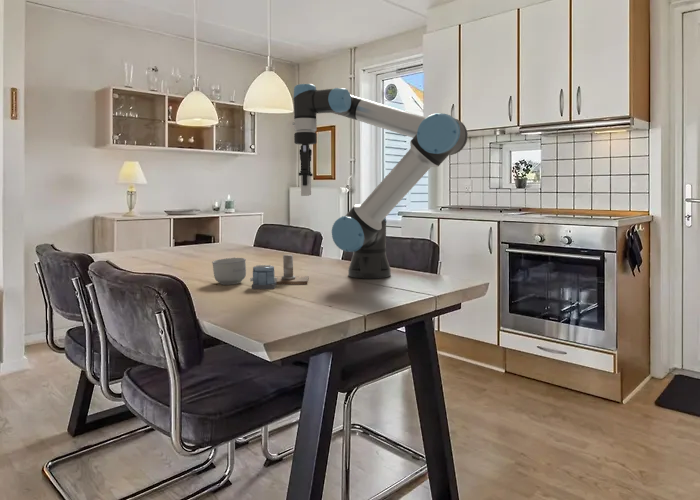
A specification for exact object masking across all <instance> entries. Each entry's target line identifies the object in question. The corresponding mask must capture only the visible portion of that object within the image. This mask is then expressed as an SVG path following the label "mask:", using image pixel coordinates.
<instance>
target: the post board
mask: <svg viewBox="0 0 700 500" xmlns="http://www.w3.org/2000/svg"><path fill="white" fill-rule="evenodd" d="M282 261H283V275H282V276H275V277H277V281H276V284H277V285H276V286H278V285H308V283H309V276H308V275H305V276H303V275H301V276H300V275H298V276H297V275H294V255H293V254H283V255H282Z"/></svg>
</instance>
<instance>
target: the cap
mask: <svg viewBox="0 0 700 500" xmlns="http://www.w3.org/2000/svg"><path fill="white" fill-rule="evenodd" d="M275 274H276V273H275V266H274V265H271V264H257V265H255V266H253V267H252V277H250V279H249V280H250V282H252V284H255V285H270V284H274V283H275V281H277V277H276V276H275Z"/></svg>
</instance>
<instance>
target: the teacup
mask: <svg viewBox="0 0 700 500" xmlns="http://www.w3.org/2000/svg"><path fill="white" fill-rule="evenodd" d="M246 263H247V262H246V258H244V257H229V258H228V257H227V258H221V259H216V260H213V261H212V262H211V264H212V270H213V277H214V279H215V281H216V282H217V283H219V284H220V285H222V286H223V285H224V286H226V285H227V286H230V285H236V284H240V283H242V282H243V280H244V279H245V278H246V275H247V267H246V266H247V265H246Z"/></svg>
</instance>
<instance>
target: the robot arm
mask: <svg viewBox="0 0 700 500" xmlns="http://www.w3.org/2000/svg"><path fill="white" fill-rule="evenodd" d="M292 100H293V121H292V126H293V127H294V128H293V129H294V131H295V132H294V137H293V139H294V144H295V145H300V149H299V160H300V170H299V172H298V176H300V196H301V197H304V196H306V197H309V196H311V195H312V177H313V175H314V174H313V172H312V170H311V162H312V155H313V153H312V152H313V151H312V149H311V147H310V145H315V144H317V143H318V142H317V139H318V137H317V133H316V132H317V130H318V129H317V127H318V126H317V119H318V118H317V114H333V115H334V114H335V115H338V116H342V117H345V118H348V119H352V120H355V121H358V122H361V123H364V124H369V125H371V126H374V127H377V128H381V129H383V130H387V131H389V132H393V133H396V134H400V135H403V136H406V137H410V138H411V139H410V142H409V143H410V148H409V150H408V151H407V152H406V153H405V154H404V156H402V157H401V159H399V161H398V162H397V163H396V165H394V167H393V168H392V169H391V170H390V171H389V172H388V173H387V175H386V176H385V177H384V178H383V179H382V180H381V182H379V184H378V185H377V186H376V187H375V189H373V190H372V192H371V193H370V194H369V195H368V196H367V197H366V198H365V200H364V201H363V202H362V203H358V204H357V203H356V204H354V205H353V206H352V208H351V209H350V210H349V211H348V212H347V213H346V215H344V216H343V215H342V216H341V217H339V218H338V219H336V220H335V221H334V223H333V225H332V228H331V237H332V241H333V243H334V245H336V247H337V248H338V249H340V250H341V251H343V252H347V253H348V252H350V253H352V256H351V261H350V262H349V266H348V270H347V271H348V272H347V273H348V276H349V277H350V278H355V279H356V278H357V279H368V280H369V279H371V280H372V279H374V280H375V279H383V278H384V279H385V278H388V277H391V266H390V263H389V261H388V256H387V245H386V244H387V216H388V215H389V214H390V213H391V212H392V211H393V209H395V207H397V206H398V204H400V202H401V201H402V200H403V198H404V197H405V196H406V195H407V194H408V193H409V192H410V191H411V190H412V189H413V187H415V185H416V184H418V182H419V181H420V180H421V179H422V178H423V177H424V176H425V175H426V174H427V172H428V171H430V169H431V168H437V167H439V166H440V165H441V164H442V163H443V162H444V161H446V159H447V158H448V156H454V155H456V154H458V153H460V152H461V151H462V150H463V149H464V148H465V146H466V144H467V142H468V139H469V138H468V137H469V136H468V130H467V127H466V126H465V124H464V123H463V122H462V121H461V120H459V118H458V119H457V118H455V117H453V116H452V115H450V114H448V113H443V112H442V113H441V112H440V113H432V114H430V115H428V116H423V115H419V114H416V113H413V112H409V111H406V110H402V109H400V108H396V107H392V106H388V105H385V104H382V103H379V102H376V101H372V100H369V99H365V98H361V97H358V96H355V95H352V94H351V93H350V92H349V90H348V89H347V88H346V87H345V88H344V87H341V88H340V87H335V88H326V89H317V87H316V85H314V84H313V83H299V84H296V85H295V86H294V88H293V99H292Z"/></svg>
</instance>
